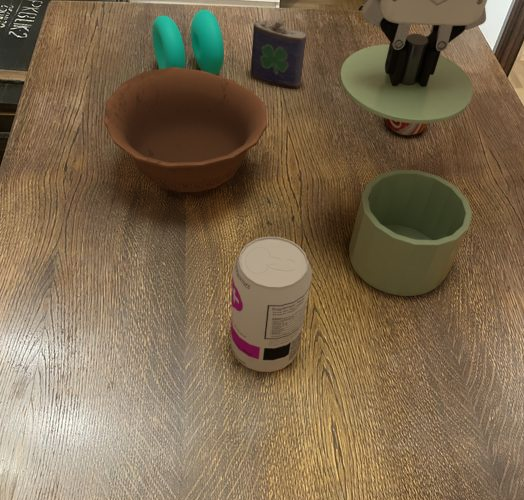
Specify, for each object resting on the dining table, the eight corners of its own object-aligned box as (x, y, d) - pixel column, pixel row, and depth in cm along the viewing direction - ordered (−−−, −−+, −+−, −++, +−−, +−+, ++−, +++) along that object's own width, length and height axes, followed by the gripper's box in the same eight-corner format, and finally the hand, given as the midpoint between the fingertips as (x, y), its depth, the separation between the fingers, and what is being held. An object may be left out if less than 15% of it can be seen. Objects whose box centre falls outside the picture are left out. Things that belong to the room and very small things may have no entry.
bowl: (210, 115, 99) (209, 50, 90) (292, 191, 90) (301, 127, 81) (88, 161, 91) (73, 94, 82) (164, 250, 81) (157, 186, 72)
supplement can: (224, 369, 71) (226, 285, 59) (237, 315, 76) (241, 226, 63) (293, 380, 71) (308, 298, 58) (301, 325, 75) (317, 238, 63)
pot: (436, 224, 87) (458, 170, 80) (457, 296, 80) (483, 245, 72) (343, 222, 86) (356, 168, 79) (355, 295, 79) (370, 243, 71)
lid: (452, 54, 72) (468, 6, 68) (484, 130, 64) (505, 81, 60) (331, 51, 71) (339, 2, 67) (348, 127, 63) (358, 77, 58)
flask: (302, 83, 106) (309, 21, 97) (296, 92, 104) (303, 29, 96) (253, 70, 107) (256, 7, 99) (247, 78, 106) (249, 15, 97)
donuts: (153, 63, 107) (147, 5, 98) (206, 54, 109) (205, -3, 101) (170, 95, 102) (166, 36, 93) (226, 85, 104) (226, 26, 96)
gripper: (375, -110, 49) (338, 97, 64) (565, -100, 50) (485, 100, 65) (362, -143, 53) (330, 58, 68) (538, -134, 55) (468, 62, 70)
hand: (407, 77), depth 67 cm, fingers closed on lid, 2 cm apart
